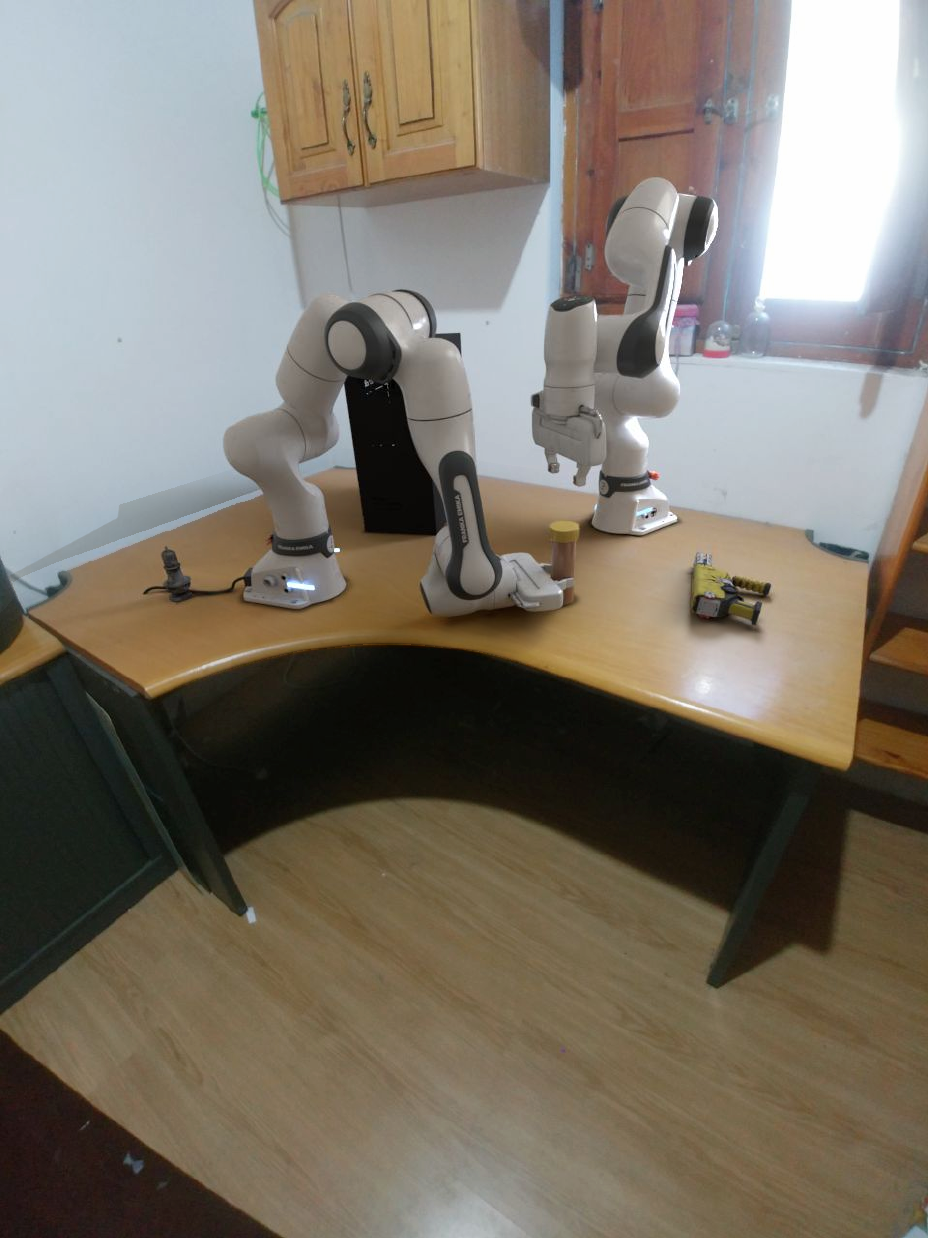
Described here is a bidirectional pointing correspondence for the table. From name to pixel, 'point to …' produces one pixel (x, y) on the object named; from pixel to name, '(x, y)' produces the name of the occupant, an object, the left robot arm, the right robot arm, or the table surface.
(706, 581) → the toy gun
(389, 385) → the black computer case
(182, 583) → the grey chess piece
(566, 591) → the jar
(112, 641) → the table surface
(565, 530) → the lid
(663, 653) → the table surface
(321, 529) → the left robot arm
